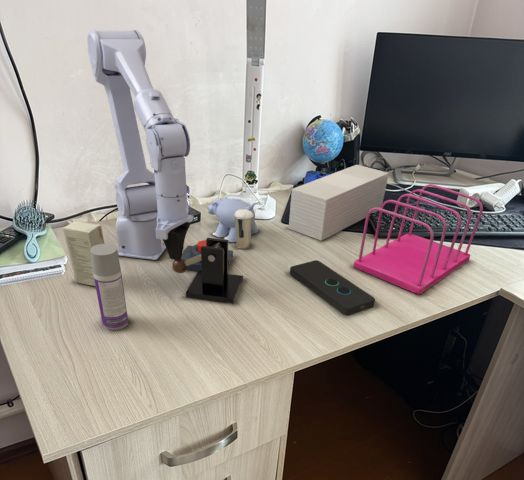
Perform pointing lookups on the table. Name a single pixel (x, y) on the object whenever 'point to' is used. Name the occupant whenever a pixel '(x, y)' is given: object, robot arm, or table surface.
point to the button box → (192, 252)
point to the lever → (189, 261)
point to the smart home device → (332, 287)
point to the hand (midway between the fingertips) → (175, 258)
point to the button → (200, 244)
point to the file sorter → (416, 247)
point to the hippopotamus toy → (229, 216)
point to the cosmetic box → (82, 248)
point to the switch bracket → (215, 275)
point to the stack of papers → (336, 201)
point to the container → (109, 286)
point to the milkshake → (243, 227)
